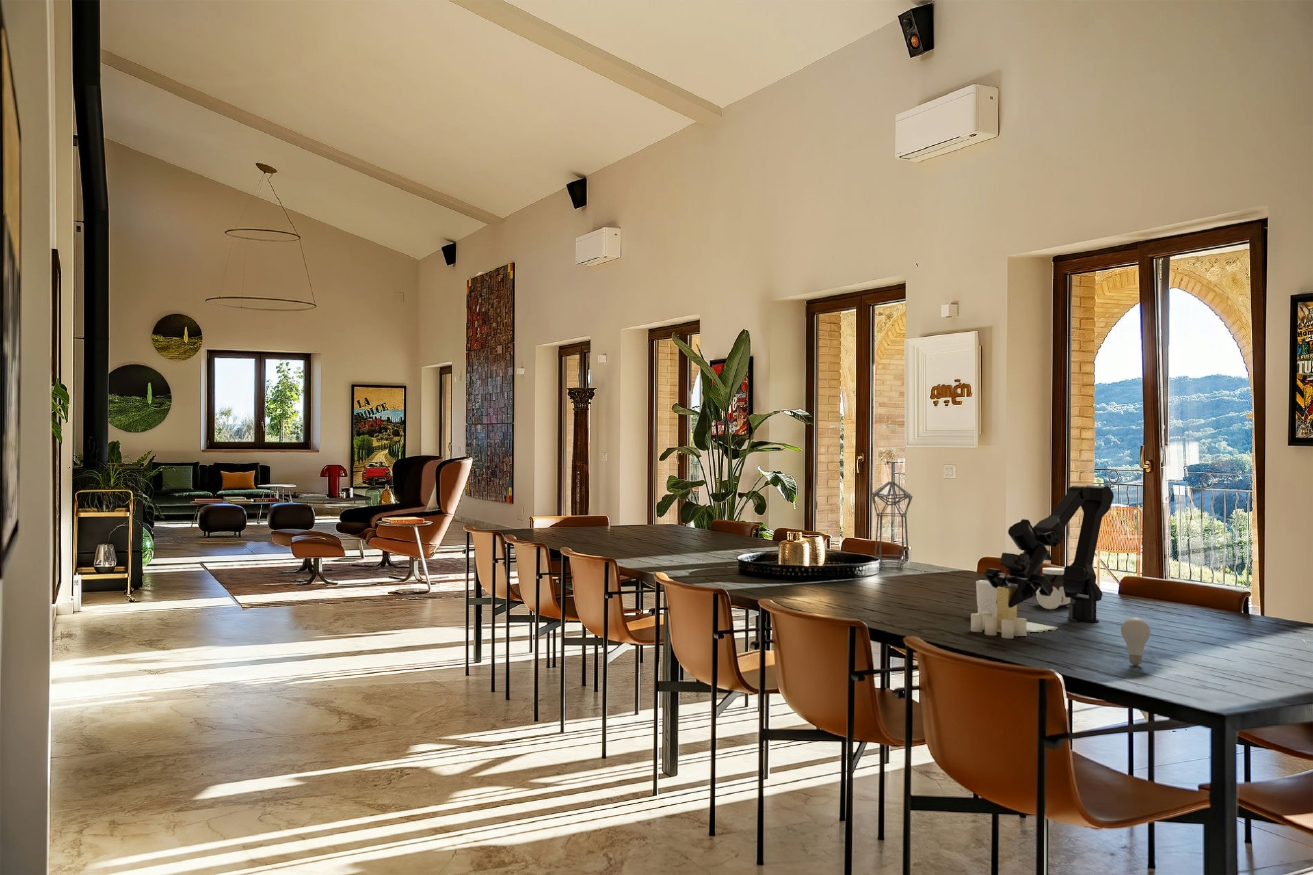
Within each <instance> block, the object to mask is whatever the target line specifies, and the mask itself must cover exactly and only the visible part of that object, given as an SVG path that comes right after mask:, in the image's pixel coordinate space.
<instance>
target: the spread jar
mask: <svg viewBox="0 0 1313 875" xmlns="http://www.w3.org/2000/svg"><path fill="white" fill-rule="evenodd" d="M1041 575H1044V576H1046V578H1047V579H1048V580H1049V582H1050V583H1051V585H1052V586H1053V592H1052V593H1051V595H1050V596H1043V595H1041V594H1040V592H1039V590H1040V589H1041V588H1039V590H1037V592H1036V594H1037V596H1036V600H1037V602H1038V603H1039V605H1040V606H1041V607H1042V608H1044V609H1046V610H1054V609H1055V610H1056V609H1064V608H1065V609H1066V608H1067V607H1069V603H1070V598H1066V597H1065V593H1064V589H1063V584H1062V581H1063V579H1062V577H1063V575H1064V568H1062V567H1042V574H1041Z"/></svg>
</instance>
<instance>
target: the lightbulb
mask: <svg viewBox="0 0 1313 875" xmlns="http://www.w3.org/2000/svg"><path fill="white" fill-rule="evenodd" d="M1120 632H1121V633H1120V634H1121V636H1122V638H1123V640H1124V641H1125V643H1126V647H1127V653H1128V659H1129V663H1130V664H1132V665H1133V666H1134V667H1138V666H1139V665H1141V664H1142V662H1143V655H1144V648H1145V646H1146V643H1147V642H1148V641H1149V639H1150V637H1151V628H1150V626H1149V624H1148V623H1147V621H1145V620H1144V619H1142V618H1140V617H1130V618H1127V619H1126V620H1124V621H1123V623H1122V625H1121V626H1120Z"/></svg>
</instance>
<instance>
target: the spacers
mask: <svg viewBox="0 0 1313 875" xmlns="http://www.w3.org/2000/svg"><path fill="white" fill-rule="evenodd" d="M1027 622H1028V621H1027V618H1025V617H1024V618H1023V617H1017V618H1014V620H1011V619H1002V632H1001V638H1003V639H1014V638H1015V637H1017V636H1026V637H1027V634H1028V632H1027ZM983 630H984V635H986V636H997V635H998V634H997V617H992V612H981V614H978V612H977V613H971V614H970V632H974V633H982V632H983ZM1014 636H1015V637H1014Z"/></svg>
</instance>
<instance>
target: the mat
mask: <svg viewBox="0 0 1313 875" xmlns="http://www.w3.org/2000/svg"><path fill="white" fill-rule="evenodd" d="M1056 629H1058V627H1057V626H1052V625H1047V624H1042V623H1037V622H1030V621H1027V633H1030V632H1039V633H1044V632H1043V631H1045V632H1049V631H1048V630H1052V631H1057V630H1056Z"/></svg>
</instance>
